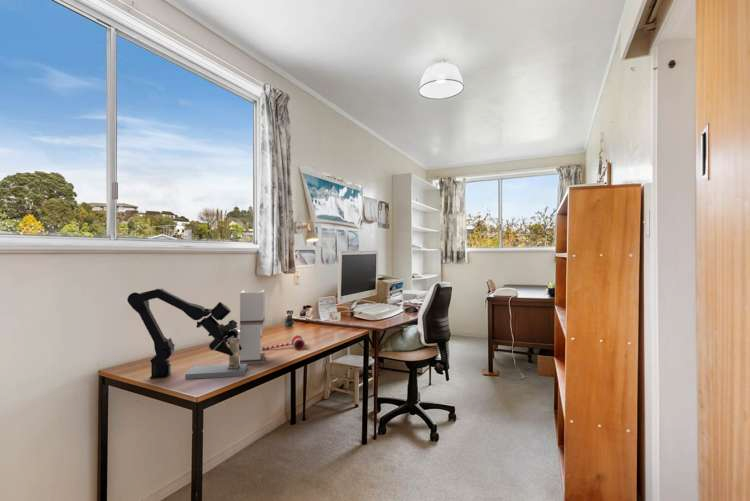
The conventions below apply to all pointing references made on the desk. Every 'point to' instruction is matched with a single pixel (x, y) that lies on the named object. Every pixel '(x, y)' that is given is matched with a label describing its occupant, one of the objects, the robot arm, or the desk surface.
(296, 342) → the toy hammer
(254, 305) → the tall grey banded box
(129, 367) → the desk surface
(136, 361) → the desk surface
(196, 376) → the board
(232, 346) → the wooden leg
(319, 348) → the desk surface
